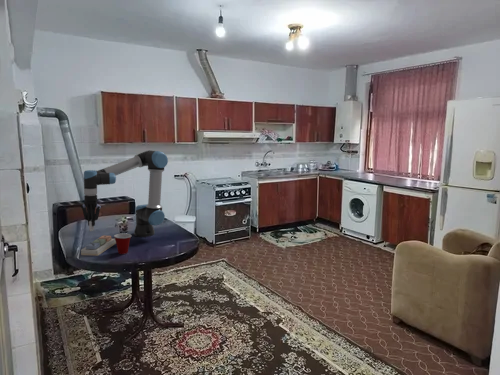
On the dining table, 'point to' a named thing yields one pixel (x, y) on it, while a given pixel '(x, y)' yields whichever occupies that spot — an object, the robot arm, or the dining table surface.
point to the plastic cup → (122, 242)
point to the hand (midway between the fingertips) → (91, 230)
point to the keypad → (98, 250)
